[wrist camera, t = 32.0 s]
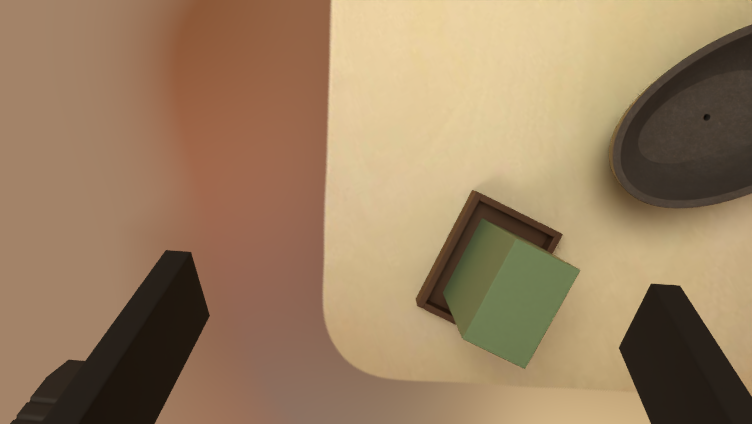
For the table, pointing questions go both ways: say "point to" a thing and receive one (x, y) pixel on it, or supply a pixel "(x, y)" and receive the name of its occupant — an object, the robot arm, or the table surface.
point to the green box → (506, 292)
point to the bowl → (691, 130)
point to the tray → (461, 236)
